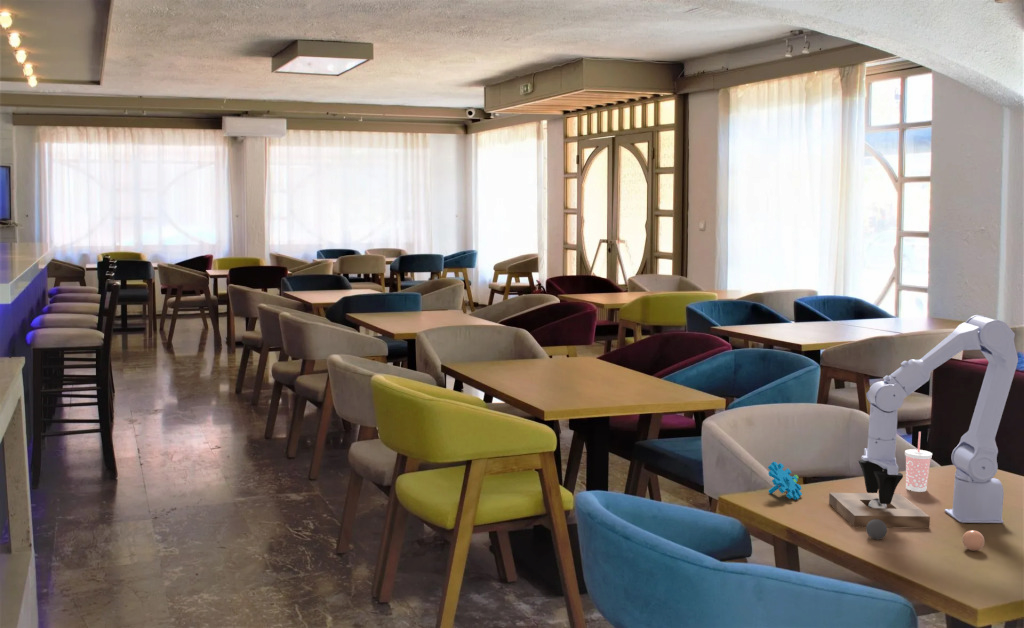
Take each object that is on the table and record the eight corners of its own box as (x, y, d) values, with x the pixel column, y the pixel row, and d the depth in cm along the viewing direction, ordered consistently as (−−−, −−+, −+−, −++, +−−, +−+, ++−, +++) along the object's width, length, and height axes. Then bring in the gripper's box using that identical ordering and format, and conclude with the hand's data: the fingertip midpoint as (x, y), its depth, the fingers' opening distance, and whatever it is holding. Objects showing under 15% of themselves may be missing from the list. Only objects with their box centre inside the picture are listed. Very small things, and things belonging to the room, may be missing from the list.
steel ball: (887, 497, 216) (893, 513, 213) (872, 506, 218) (878, 522, 216) (876, 492, 214) (882, 508, 211) (861, 501, 216) (867, 517, 214)
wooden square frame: (898, 504, 224) (899, 493, 224) (929, 527, 208) (930, 516, 208) (828, 503, 224) (829, 492, 224) (854, 527, 208) (854, 515, 208)
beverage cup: (900, 484, 240) (903, 428, 238) (926, 486, 238) (930, 429, 237) (905, 491, 234) (908, 434, 232) (932, 493, 233) (936, 435, 231)
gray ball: (881, 535, 203) (883, 516, 203) (889, 542, 199) (890, 523, 199) (862, 535, 203) (863, 516, 203) (869, 542, 199) (871, 522, 199)
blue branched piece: (789, 498, 222) (765, 460, 227) (770, 512, 225) (747, 475, 230) (813, 495, 230) (789, 459, 235) (794, 508, 233) (771, 472, 238)
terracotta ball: (977, 546, 197) (979, 527, 197) (987, 553, 193) (989, 534, 193) (958, 546, 197) (959, 527, 197) (967, 553, 193) (968, 534, 193)
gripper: (851, 429, 221) (848, 487, 223) (876, 445, 207) (872, 508, 208) (883, 429, 221) (879, 488, 223) (909, 445, 207) (905, 508, 208)
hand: (878, 497), depth 216 cm, fingers open, 7 cm apart
